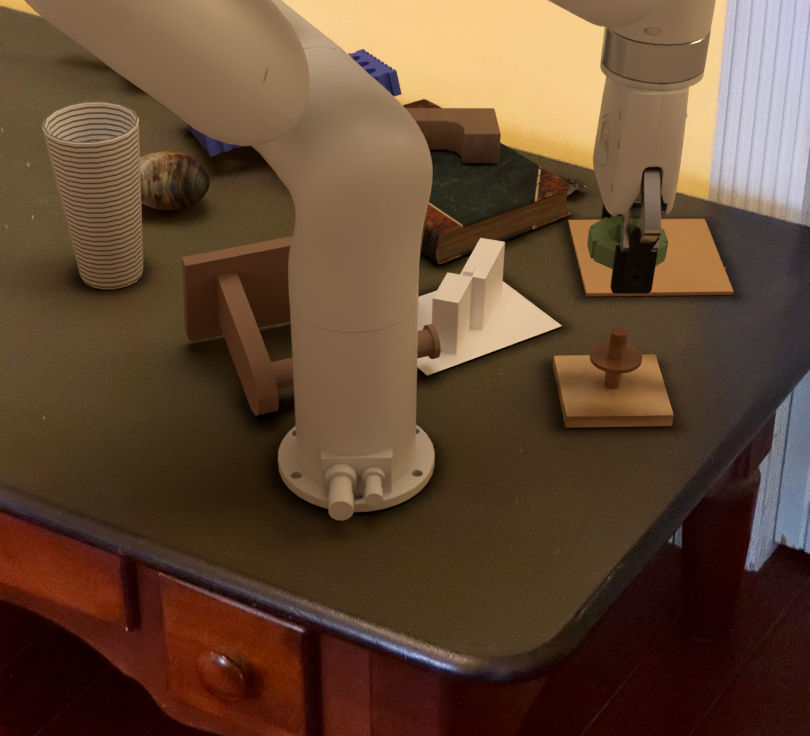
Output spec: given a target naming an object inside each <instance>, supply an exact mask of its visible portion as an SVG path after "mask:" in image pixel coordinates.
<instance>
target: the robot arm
mask: <svg viewBox="0 0 810 736" xmlns="http://www.w3.org/2000/svg"><path fill="white" fill-rule="evenodd" d="M24 1H25V3H26V4H27V5H28V6H29V7H30V8H31V9H32V10H33V11H34V12H36V14H37V15H39V16H40V17H41V18H42V19H44V20H45V21H47V23H49V24H51V25H52V26H53V27H54V28H56V29H57V30H59V32H61V33H63V34H64V35H66V36H67V37H68V38H70V39H71V40H72V41H74V42H75V43H77V44H78V45H79V46H80V47H82V48H84V49H85V50H86V51H87V52H89V53H91V54H92V55H94V56H95V57H96V58H97V59H99V60H100V61H101V62H103V63H104V64H105V65H106V66H108V67H109V68H110V69H112V70H113V71H114V72H115V73H117V74H118V75H120V76H121V77H123V78H124V79H126V80H127V81H129V82H130V83H131V84H133V85H134V86H136V88H138V89H140V90H141V91H143V92H144V93H146V94H147V95H149V96H150V97H151V98H153V99H154V100H156V101H157V102H158V103H160V104H161V105H162V106H164V107H166V108H167V109H168V110H169V111H171V112H172V113H174V114H175V115H176V116H177V117H179V118H180V119H181V120H182V121H183V122H185V123H186V124H189V125H190V126H191V127H192V128H194V129H195V130H197V131H199V132H201V133H203V134H204V135H206V136H208V137H210V138H212V139H215V140H218V141H221V142H224V143H227V144H233V145H240V146H242V147H252V148H253V149H254V150H255V151H256V152H257V153H259V154H260V156H261V157H262V158H263V159H264V161H266V163H267V164H268V165H269V166H270V168H271V169H272V170H273V171H274V173H275V174H276V177H278V179H279V180H280V181H281V182H282V184H283V185H284V186H285V187H286V189H287V190H288V193H289V194H290V196H291V199H292V202H293V206H294V214H295V218H294V221H295V222H294V227H293V233H292V236H293V237H292V240H291V245H290V251H289V260H288V286H289V302H290V319H291V321H290V337H291V358H292V360H293V381H294V386H293V397H294V398H293V399H294V420H295V421H294V422H295V425H294V426H293V427H292V428H291V429H290V430H289V431H288V432H287V433H286V434H285V436H284V437H283V438H282V440H281V441H280V445H279V447H278V450H277V465H278V473H279V475H280V477H281V480H282V482H283V483H284V484H285V486H286V487H287V488H288V489H289V490H290V491H291V492H292V493H293V494H294V495H296V496H297V497H298V498H300V499H302V500H304V501H306V502H307V503H309V504H312V505H314V506H318V507H320V508H323V509H327V510H328V515H329V516H330V518H331V519H333V520H334V521H341V522H342V521H346V520H349V519H350V518H352V516H353V515H354V513H366V512H367V513H368V512H375V511H381V510H385V509H389V508H391V507H394V506H397V505H400V504H401V503H404V502H406V501H408V500H410V499H411V498H413V497H414V496H416V495H417V494H418V493H420V492H421V491H422V490H423V489H424V488H425V487H426V486H427V484H428V483H429V482H430V479H431V478H432V476H433V474H434V470H435V454H436V453H435V448H434V443H433V442H432V440H431V438H430V437H429V435H428V434H427V433H426V432H425V431H424V430H423V429H422V428H421V427H420V426H419V425H418V424H417V400H418V399H417V398H418V397H417V396H418V395H417V392H418V391H417V390H418V388H417V387H418V367H417V348H418V298H419V296H420V295H419V280H420V279H419V278H420V260H419V259H421V254H420V246H421V238H422V231H423V226H424V220H425V216H426V212H427V207H428V203H429V199H430V194H431V188H432V175H433V169H432V159H431V154H430V151H429V147H428V144H427V142H426V139H425V137H424V135H423V133H422V131H421V130H420V128H419V126H418V124H417V123H416V121H415V120H414V119H413V117H412V116H411V115H410V113H409V112H408V111H407V110H406V109H405V108H404V106H403V105H404V104H402V103H401V102H400V101H399V100H398V99H397V98H396V96H395V97H394V96H393V95H392V94H391V93H389V92H388V91H387V90H386V89H385V88H384V87H383V86H382V85H381V84H380V83H379V82H378V81H377V80H375V79H374V78H373V77H371V76H370V75H369V74H368V73H367V72H366V71H365V70H364V69H363V68H362V67H361V66H360V65H359V64H358V63H357V62H356V61H355V60H354V59H353V58H352V57H351V56H350V55H349V53H348V52H346V51H345V50H344V49H343V48H342V47H341V46H340V45H338V44H337V43H336V42H335V41H333V40H332V39H331V38H329V37H328V36H327V35H326V34H324V33H323V32H322V31H320V30H319V29H318V28H317V27H315V26H314V25H313V24H312V23H311V22H309V21H308V20H307V19H305V17H303V16H302V15H301V14H299V13H298V12H297V11H295V10H294V9H293V8H292V7H291V6H290V5H288V4H287V3H286V2H284V1H283V0H24ZM547 1H548V2H550V3H552V4H554V5H556V6H558V7H559V8H561V9H563V10H565V11H567V12H569V13H570V14H572V15H574V16H577V17H578V18H579V19H582V20H584V21H586V22H587V23H590V24H591V25H594V26H596V27H597V26H598V27H603V28H604V29H603V36H602V47H601V53H600V54H601V55H600V62H599V63H600V65H599V67H600V71H601V73H602V74H603V75H604V76H605V81H604V86H603V91H602V96H601V103H600V109H599V115H598V121H597V128H596V135H595V141H594V147H593V155H592V166H593V171H594V176H595V179H596V182H597V186H598V190H599V193H600V196H601V199H602V202H603V203H602V210H601V217H600V218H601V219H600V220H602V219H603V218H605V217H608V218H610V216H622V222H621V240H620V242H618V243H620V245H616V248H615V255H614V263H613V270H612V278H611V285H610V287H611V291H612V292H613V293H615V294H646V293H650V292H651V290H652V285H653V279H654V273H655V266H656V260H657V253H658V247H659V236H660V234H661V219H662V217H666V216H667V215H669V214H670V213H671V212H672V210H673V207H674V205H675V200H676V195H677V190H678V183H679V177H680V171H681V163H682V157H683V149H684V140H685V132H686V123H687V122H686V121H687V118H688V113H687V112H688V102H689V94H690V93H689V92H690V87H692V86H695V85H697V84H699V82H701V81H702V80H703V78H704V76H705V69H706V63H707V59H708V51H709V44H710V39H711V32H712V24H713V19H714V13H715V8H716V2H717V0H547ZM631 218H636V219H638V218H641V223H640V225H639V228H634V229H633V231H632V232H631ZM630 233H631V234H630Z"/></svg>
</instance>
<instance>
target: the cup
mask: <svg viewBox="0 0 810 736" xmlns="http://www.w3.org/2000/svg"><path fill="white" fill-rule="evenodd" d="M41 129H42V133H43V138H44V140H45V145H46V149H47V153H48V157H49V160H50V164H51V165H50V166H51V168H52V172H53V177H54V180H55V184H56V188H57V192H58V196H59V199H60V203H61V207H62V211H63V214H64V218H65V223H66V227H67V231H68V234H69V239H70V242H71V246H72V250H73V254H74V258H75V261H76V262H75V263H76V266H77V270H78V273H79V276H80V278H81V280H82V281H83V283H84V284H86V285H88V286H89V287H92V288H95V289H100V290H116V289H121V288H125V287H128V286H131V285H133V284H135V283H137V282H138V280H139V279H140V278H141V277H142V276H143V272H144V247H143V246H144V242H143V241H144V240H143V214H142V213H143V211H142V208H143V207H142V203H141V175H140V158H141V148H140V146H141V145H140V117H139V116H138V115H137V114H136V112H135V111H134V110H133V109H132V108H130V107H128V106H126V105H123V104H121V103H115V102H109V101H81V102H77V103H72V104H68V105H64V106H63V107H60V108H57V109H55V110H54V111H52V112H51V113H49V114H48V115H47V116H46V117H44V119H43V123H42V125H41Z"/></svg>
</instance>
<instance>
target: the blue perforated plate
mask: <svg viewBox="0 0 810 736" xmlns="http://www.w3.org/2000/svg"><path fill="white" fill-rule="evenodd" d="M348 54H349V55H350V56H351V57H352V58H353V59H354V60H355V61H356V62H357V63H358V64H359V65H360V66H361V67H362V68H363V69H364V70H365V71H366V72H367V73H368V74H369V75H370V76H371V77H373V78H374V79H375V80H377V81H378V82H379V83H380V84H381V85H382V86H383V87H384V88H385V89H386V90H387V91H388V92H389V93H391V94H392V95H393V96H394V97H395V98H396V97H398V96H401V95H402V89H401V85H400V80H399V75H398V71H397V70H396V69H395V68H393V67H392V66H390V65H389V64H387V63H385V62H384V61H381V59H379V58H377V57H376V56H374V55H373V54H372V53H370V52H368V51H366V50H365V49H364V48H361V49H358V50H356V51H355V52H349V53H348ZM186 124H187V123H186ZM187 129H188V130H189V132H190V133H191V134H192V135H193V136H194V138H195V139H196V140H197V141H198V143H199V144H200V146H201V147H202V148H203V149H204V150H205V151H206V153H207V154H208V155H209V157H214V156H217V155H220V154H221V153H227V152H230V151H232V150H233V149H236V148H237V149H239V148H242V147H243V146H240V145H233V144H227V143H224V142H221V141H218V140H215V139H212V138H210V137H208V136H206V135H204V134H203V133H201V132H199V131H197V130H195V129H194V128H192V127H191V126H190V125H189V124H187Z"/></svg>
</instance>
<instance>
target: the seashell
mask: <svg viewBox="0 0 810 736" xmlns="http://www.w3.org/2000/svg"><path fill="white" fill-rule="evenodd" d="M140 175H141V204H142V205H144V206H146V207H149V208H151V209H154V210H161V211H176V210H181V209H186V208H189V207H192V206H193V205H195V204H198V203H199V202H200V201H201V200H202V199H203V198H204V197H205V196H206V195H207V194H208V191H209V189H210V184H211V179H210V175H209V171H208V170H207V168H206V167H205V165H204V164H203V163H201V162H200V161H199V160H198V159H196V158H194V157H192V156H191V155H189V154H186V153H183V152H179V151H172V150H162V151H161V150H160V151H153V152H150V153H147V154H145V155H143V156H140Z"/></svg>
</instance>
